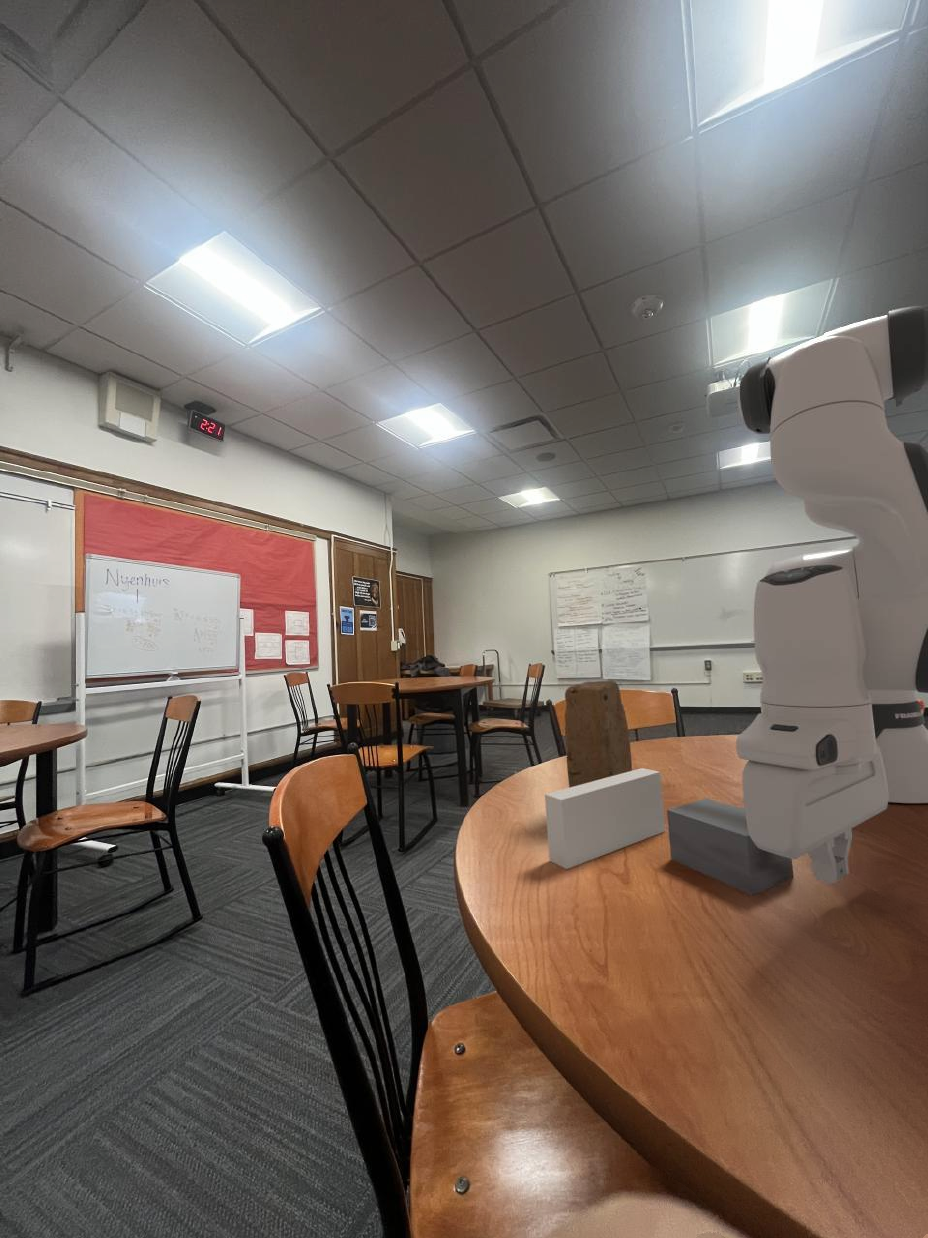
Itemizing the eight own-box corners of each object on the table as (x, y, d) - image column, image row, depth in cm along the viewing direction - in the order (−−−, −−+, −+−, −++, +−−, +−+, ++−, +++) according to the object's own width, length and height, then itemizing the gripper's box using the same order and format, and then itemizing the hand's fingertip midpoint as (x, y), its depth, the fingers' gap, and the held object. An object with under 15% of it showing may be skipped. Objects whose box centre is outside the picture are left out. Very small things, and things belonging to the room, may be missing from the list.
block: (611, 824, 70) (600, 685, 71) (565, 815, 75) (556, 685, 76) (641, 803, 78) (630, 678, 79) (598, 796, 83) (589, 679, 84)
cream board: (647, 825, 69) (642, 768, 69) (665, 831, 66) (660, 771, 67) (549, 860, 60) (544, 794, 60) (566, 869, 57) (561, 800, 57)
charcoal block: (710, 847, 61) (706, 798, 61) (793, 878, 52) (787, 821, 52) (671, 861, 58) (666, 809, 58) (752, 897, 49) (746, 836, 49)
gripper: (829, 715, 55) (842, 839, 54) (724, 743, 45) (739, 897, 44) (899, 720, 50) (915, 858, 49) (799, 753, 39) (818, 930, 38)
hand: (831, 877), depth 46 cm, fingers closed
